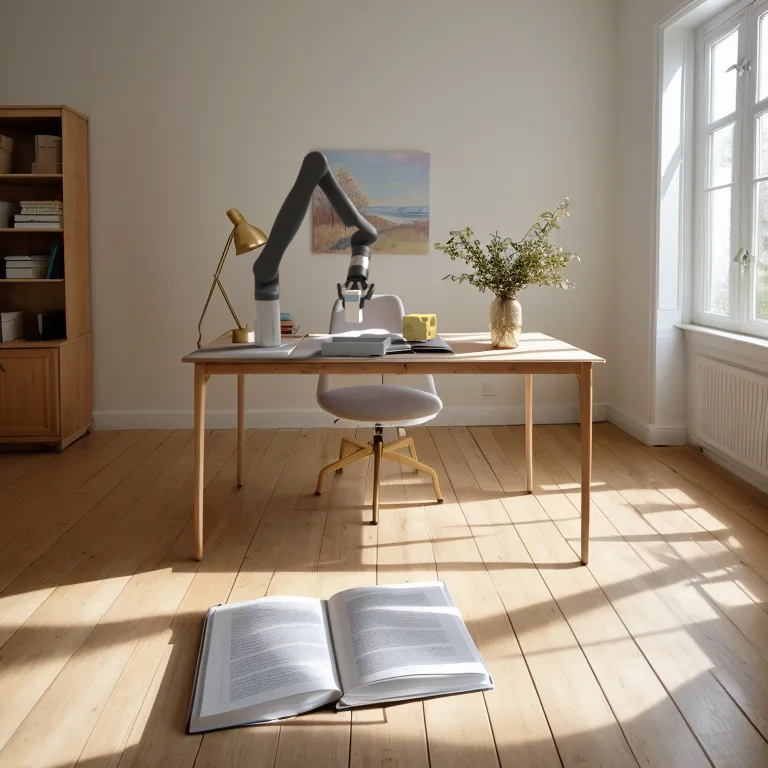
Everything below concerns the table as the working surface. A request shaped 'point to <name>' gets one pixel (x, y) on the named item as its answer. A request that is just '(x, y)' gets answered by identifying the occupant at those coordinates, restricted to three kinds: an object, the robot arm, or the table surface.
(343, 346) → the tray
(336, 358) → the table surface
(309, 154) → the robot arm
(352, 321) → the milk carton
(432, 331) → the cheese
